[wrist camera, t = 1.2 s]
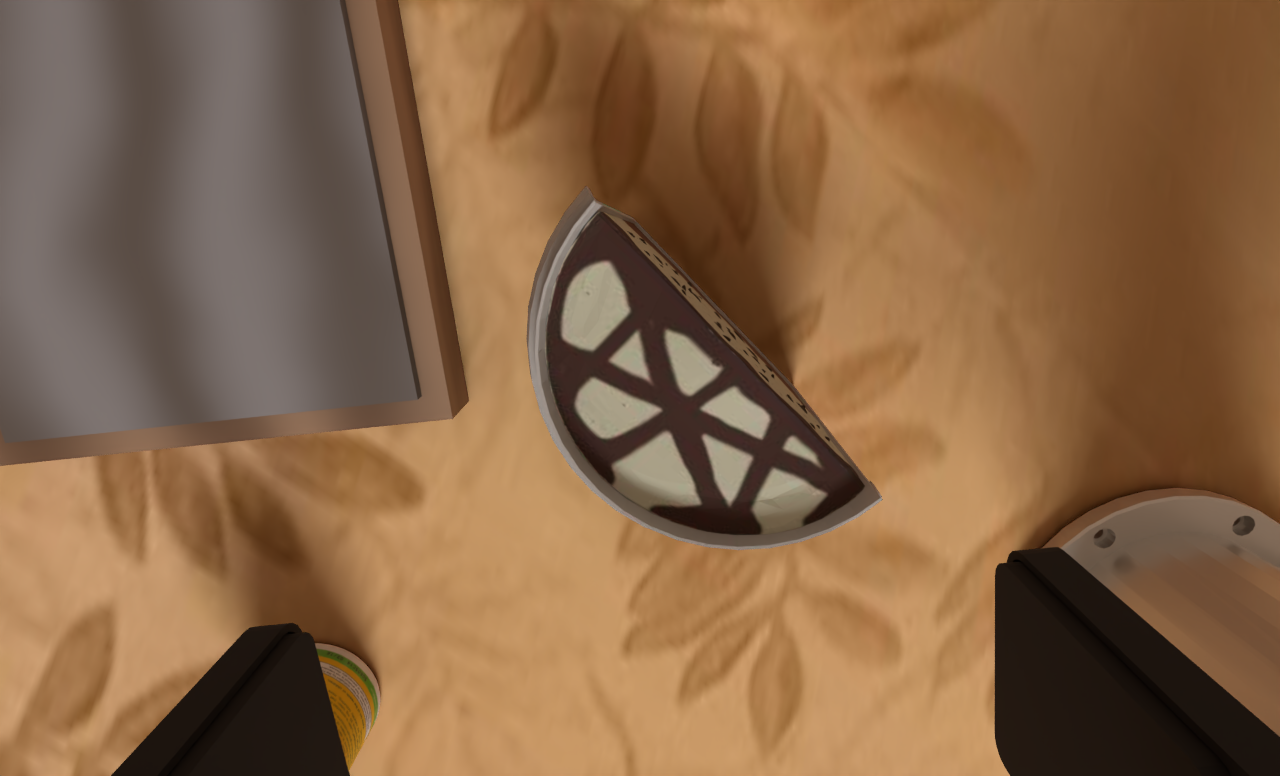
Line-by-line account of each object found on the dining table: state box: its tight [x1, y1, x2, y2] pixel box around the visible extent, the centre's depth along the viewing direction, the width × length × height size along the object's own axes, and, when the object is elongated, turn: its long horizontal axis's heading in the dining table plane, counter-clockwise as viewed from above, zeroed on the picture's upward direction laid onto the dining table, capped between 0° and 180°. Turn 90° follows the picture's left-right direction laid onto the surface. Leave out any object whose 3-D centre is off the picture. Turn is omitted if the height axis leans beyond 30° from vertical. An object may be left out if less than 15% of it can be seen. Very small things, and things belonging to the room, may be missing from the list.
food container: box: [527, 186, 883, 550], centre depth 25 cm, size 12×6×10 cm, turn 44°
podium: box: [0, 0, 469, 466], centre depth 27 cm, size 18×18×3 cm
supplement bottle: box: [315, 643, 380, 771], centre depth 29 cm, size 5×5×10 cm
